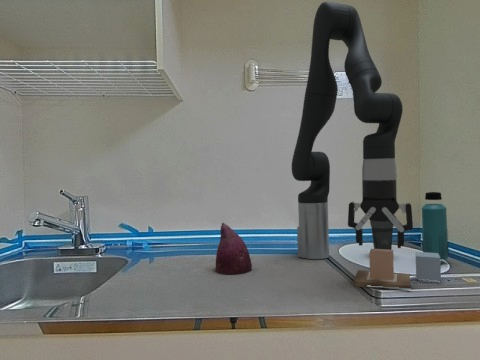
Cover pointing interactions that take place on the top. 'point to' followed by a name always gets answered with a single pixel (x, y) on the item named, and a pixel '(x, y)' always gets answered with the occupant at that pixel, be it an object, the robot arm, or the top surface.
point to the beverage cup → (382, 234)
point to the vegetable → (232, 253)
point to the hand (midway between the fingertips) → (379, 246)
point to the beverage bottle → (435, 227)
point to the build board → (364, 279)
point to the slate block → (428, 266)
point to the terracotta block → (381, 264)
